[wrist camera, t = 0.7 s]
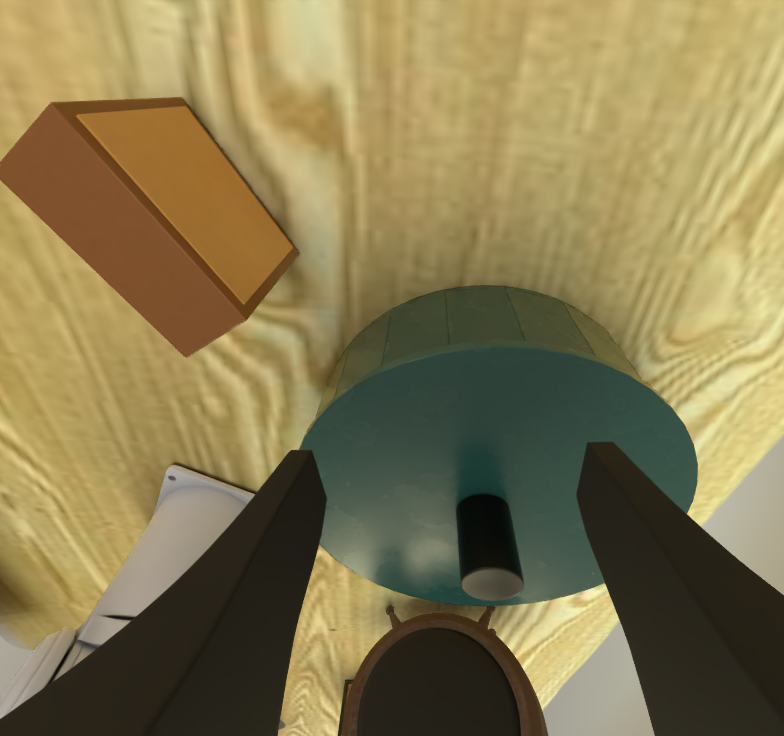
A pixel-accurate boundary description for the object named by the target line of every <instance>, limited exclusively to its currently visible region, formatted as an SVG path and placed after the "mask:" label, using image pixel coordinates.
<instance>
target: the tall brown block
mask: <svg viewBox="0 0 784 736" xmlns="http://www.w3.org/2000/svg"><path fill="white" fill-rule="evenodd" d="M0 180H1V181H2V182H3V183H4V184H5V185H6V186H7V187H8V188H9V189H10V190H11V191H12V192H14V193H15V194H16V195H17V196H18V197H19V198H20V199H21V200H22V201H23V202H24V203H25V204H26V205H27V206H28V207H29V208H30V209H31V210H32V211H33V212H34V213H35V214H36V215H38V216H39V217H40V218H41V219H42V220H43V221H44V222H45V223H46V224H47V225H48V226H49V227H50V228H51V229H52V230H53V231H54V232H55V233H56V234H57V235H58V236H59V237H60V238H61V239H63V240H64V241H65V242H66V243H67V244H68V245H69V246H70V247H71V248H72V249H73V250H74V251H75V252H76V253H77V254H78V255H79V256H80V257H81V258H82V259H83V260H84V261H85V262H87V263H88V264H89V265H90V266H91V267H92V268H93V269H94V270H95V271H96V272H97V273H98V274H99V275H100V276H101V277H102V278H103V279H104V280H105V281H106V282H107V283H108V284H109V285H110V286H112V287H113V288H114V289H115V290H116V291H117V292H118V293H119V294H120V295H121V296H122V297H123V298H124V299H125V300H126V301H127V302H128V303H129V304H130V305H131V306H132V307H133V308H134V309H136V310H137V311H138V312H139V313H140V314H141V315H142V316H143V317H144V318H145V319H146V320H147V321H148V322H149V323H150V324H151V325H152V326H153V327H154V328H155V329H156V330H157V331H158V332H159V333H161V334H162V335H163V336H164V337H165V338H166V339H167V340H168V341H169V342H170V343H171V344H172V345H173V346H174V347H175V348H176V349H177V350H178V351H179V352H180V353H181V354H182V355H183V356H185V357H189V356H191V355H192V354H194V353H195V352H197V351H198V350H200V349H202V348H203V347H205V346H206V345H208V344H210V343H211V342H213V341H214V340H216V339H217V338H219V337H221V336H222V335H224V334H225V333H227V332H229V331H230V330H232V329H233V328H235V327H237V326H238V325H240V324H241V323H243V322H244V321H246V320H247V319H248V318H249V316H250V315H251V314H252V313H253V311H254V310H255V309H256V308H257V306H258V305H259V304H260V302H261V301H262V300H263V299H264V297H265V296H266V295H267V294H268V292H269V291H270V290H271V289H272V287H273V286H274V285H275V283H276V282H277V281H278V280H279V278H280V277H281V276H282V275H283V273H284V272H285V271H286V269H287V268H288V267H289V266H290V264H291V263H292V262H293V261H294V259H295V258H296V257H297V256H298V254H299V252H298V251H297V249H296V248H295V247H294V245H293V244H292V243H291V241H290V240H289V239H288V237H287V236H286V235H285V233H284V232H283V231H282V229H281V228H280V227H279V225H278V224H277V223H276V221H275V220H274V219H273V218H272V216H271V215H270V214H269V212H268V211H267V210H266V208H265V207H264V206H263V204H262V203H261V202H260V200H259V199H258V198H257V196H256V195H255V194H254V192H253V191H252V190H251V188H250V187H249V186H248V184H247V183H246V182H245V180H244V179H243V178H242V177H241V175H240V174H239V173H238V171H237V170H236V169H235V167H234V166H233V165H232V163H231V162H230V161H229V159H228V158H227V157H226V155H225V154H224V153H223V151H222V150H221V149H220V147H219V146H218V145H217V143H216V142H215V141H214V139H213V138H212V137H211V136H210V134H209V133H208V132H207V130H206V129H205V128H204V126H203V125H202V124H201V122H200V121H199V120H198V118H197V117H196V116H195V114H194V113H193V112H192V110H191V109H190V108H189V106H188V105H187V104H186V102H185V101H184V100H183V99H182V98H181V97H175V98H149V99H124V100H98V101H72V102H51V103H50V104H49V105H48V106H47V107H46V108H45V110H44V111H43V112H42V113H41V114H40V116H39V117H38V118H37V119H36V120H35V121H34V123H33V124H32V125H31V126H30V127H29V129H28V130H27V131H26V132H25V133H24V134H23V136H22V137H21V138H20V139H19V140H18V142H17V143H16V144H15V145H14V146H13V147H12V149H11V150H10V151H9V152H8V153H7V155H6V156H5V157H4V158H3V159H2V160H1V162H0Z"/></svg>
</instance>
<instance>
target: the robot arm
mask: <svg viewBox="0 0 784 736" xmlns="http://www.w3.org/2000/svg"><path fill="white" fill-rule="evenodd" d="M576 497H577V501H578V505H579V509H580V513H581V517H582V521H583V524H584V528H585V532H586V535H587V538H588V540H589V543H590V546H591V548H592V551H593V553H594V556H595V558H596V561H597V564H598V566H599V569H600V571H601V574H602V576H603V579H604V581H605V584H606V587H607V589H608V592H609V594H610V597H611V599H612V602H613V604H614V607H615V609H616V612H617V614H618V617H619V619H620V622H621V625H622V627H623V630H624V633H625V636H626V638H627V641H628V644H629V647H630V650H631V653H632V657H633V661H634V664H635V667H636V671H637V674H638V677H639V681H640V684H641V688H642V691H643V695H644V698H645V702H646V705H647V709H648V713H649V716H650V720H651V723H652V727H653V730H654V734H655V736H784V595H783V594H781V593H780V592H779V591H777V590H776V589H775V588H774V587H772V586H771V585H770V584H768V583H767V582H766V581H765V580H763V579H762V578H761V577H759V576H758V575H757V574H755V573H754V572H753V571H752V570H750V569H749V568H748V567H747V566H745V565H744V564H743V563H742V562H740V561H739V560H738V559H737V558H736V557H735V556H733V555H732V554H731V553H730V552H729V551H727V550H726V549H725V548H724V547H723V546H722V545H721V544H720V543H718V542H717V541H716V540H715V539H714V538H713V537H711V536H710V535H709V534H708V533H707V532H706V531H705V530H703V529H702V528H701V527H700V526H699V525H698V524H697V523H696V522H695V521H694V520H692V519H691V518H690V517H689V516H688V515H687V514H686V513H685V512H684V511H683V510H682V509H681V508H680V507H679V506H678V505H677V504H675V503H674V502H673V501H672V500H671V499H670V498H669V497H668V496H667V495H666V494H665V493H664V492H663V491H662V490H661V489H660V488H659V487H658V486H657V485H656V484H655V483H654V482H653V481H652V480H651V479H650V478H649V477H648V476H647V475H646V474H645V473H644V472H643V471H642V470H641V469H640V468H639V467H638V466H637V465H636V464H635V463H634V462H633V461H632V460H631V459H630V458H629V457H628V456H627V455H626V454H625V453H624V452H623V451H622V450H621V449H620V448H619V447H618V446H617V445H616V444H615V443H614V442H587V446H586V450H585V455H584V460H583V465H582V470H581V474H580V479H579V484H578V489H577V494H576ZM326 502H327V497H326V493H325V490H324V487H323V484H322V480H321V477H320V474H319V471H318V467H317V464H316V461H315V458H314V455H313V451H312V450H291V451H290V452H289V453H288V454H287V455H286V457H285V458H284V459H283V460H282V462H281V463H280V464H279V465H278V467H277V468H276V469H275V471H274V472H273V473H272V474H271V476H270V477H269V478H268V479H267V481H266V482H265V483H264V484H263V486H262V487H261V488H260V489H259V491H258V492H257V493H256V494H253V493H250V492H247V491H245V490H242V489H239V488H237V487H234V486H231V485H229V484H226V483H223V482H221V481H218V480H215V479H213V478H210V477H207V476H204V475H202V474H199V473H196V472H194V471H191V470H188V469H186V468H183V467H180V466H178V465H170V466H169V467H168V469H167V470H166V473H165V476H164V480H163V483H162V487H161V490H160V494H159V497H158V501H157V504H156V508H155V511H154V515H153V518H152V519H151V521H150V522H149V524H148V525H147V527H146V528H145V530H144V532H143V533H142V535H141V536H140V538H139V539H138V541H137V542H136V544H135V546H134V547H133V549H132V550H131V552H130V553H129V555H128V556H127V558H126V559H125V561H124V563H123V564H122V566H121V567H120V569H119V570H118V572H117V573H116V575H115V577H114V578H113V580H112V581H111V583H110V584H109V586H108V587H107V589H106V590H105V592H104V594H103V595H102V597H101V598H100V600H99V601H98V603H97V604H96V606H95V608H94V609H93V611H92V612H91V614H90V615H89V617H88V618H87V620H86V621H85V623H83V624H82V625H81V626H80V627H79V628H78V629H77V630H76V629H73V628H71V627H68V626H66V627H63V628H62V629H61V630H60V631H56V632H54V633H52V634H49V635H47V636H46V637H45V638H44V639H43V640H42V641H41V642H40V643H39V645H38V646H37V647H36V648H35V650H34V651H33V652H32V654H31V655H30V656H29V658H28V659H27V660H26V662H25V663H24V664H23V666H22V667H21V668H20V670H19V671H18V672H17V674H16V675H15V677H14V678H13V679H12V681H11V682H10V683H9V685H8V686H7V687H6V689H5V690H4V691H3V693H2V694H1V696H0V736H277V735H278V729H279V722H280V716H281V710H282V704H283V698H284V692H285V686H286V679H287V674H288V668H289V663H290V658H291V652H292V647H293V641H294V636H295V632H296V628H297V623H298V619H299V615H300V612H301V608H302V604H303V601H304V597H305V594H306V590H307V586H308V583H309V579H310V576H311V572H312V568H313V565H314V561H315V557H316V554H317V550H318V546H319V543H320V539H321V535H322V529H323V523H324V517H325V509H326Z"/></svg>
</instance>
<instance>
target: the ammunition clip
mask: <svg viewBox="0 0 784 736" xmlns="http://www.w3.org/2000/svg"><path fill="white" fill-rule="evenodd" d="M352 683H353V681H351V680H345V686H344V693H343V701H342V708H341V715H340V722H339V730H338V736H342V725H343V717H344V711H345V706H346V702H347V698H348V694H349V691H350V688H351V685H352Z"/></svg>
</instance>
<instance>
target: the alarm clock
mask: <svg viewBox="0 0 784 736" xmlns="http://www.w3.org/2000/svg"><path fill="white" fill-rule="evenodd" d="M494 610H495V606H487V609H486V611H485V612H484V614H483V615H482V617H481V618H480V620H479V621H478V623H477V622H475V621H473V620H471V619H468V618H465V617H462V616H459V615H454V614H447V613H432V614H425V615H421V616H417V617H414V618H411V619H409V620H407V621H405V622H403V623H401V622H400V621H399V619H398V618H397V617H396V615H395V614H394V608H393V607H391V606H389V607H388V608H387V609H386V613H387V614H388V615H389V616H390V620H391V623H392V627H393V629H392V630H390V631H389V632H388V633H387V634H385V635H384V636H383V637H382V638H381V639H380V640H379V641H378V642H377V643H376V644H375V645H374V647H373V648H372V649H371V650H370V652H369V653H368V655H367V656H366V657H365V659H364V661H363V662H362V664H361V666H360V668H359V670H358V671H357V673H356V676H355V678H354V680H353V683H352V685H351V688H350V691H349V694H348V698H347V702H346V706H345V711H344V717H343V725H342V736H548V733H547V728H546V723H545V719H544V716H543V712H542V709H541V706H540V703H539V701H538V698H537V695H536V693H535V691H534V689H533V687H532V685H531V683H530V681H529V679H528V677H527V675H526V673H525V672H524V670H523V668H522V666H521V665H520V663H519V662H518V660H517V659H516V657H515V656H514V654H513V653H512V652H511V651H510V649H509V648H508V647H507V646H506V645H505V644H504V643H503V642H502V641H501V640H500V639H499V638H498V637H497V636H496V631H495V630H494V629H489V630H488V625H489V621H490V617H491V613H492V611H494Z"/></svg>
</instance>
